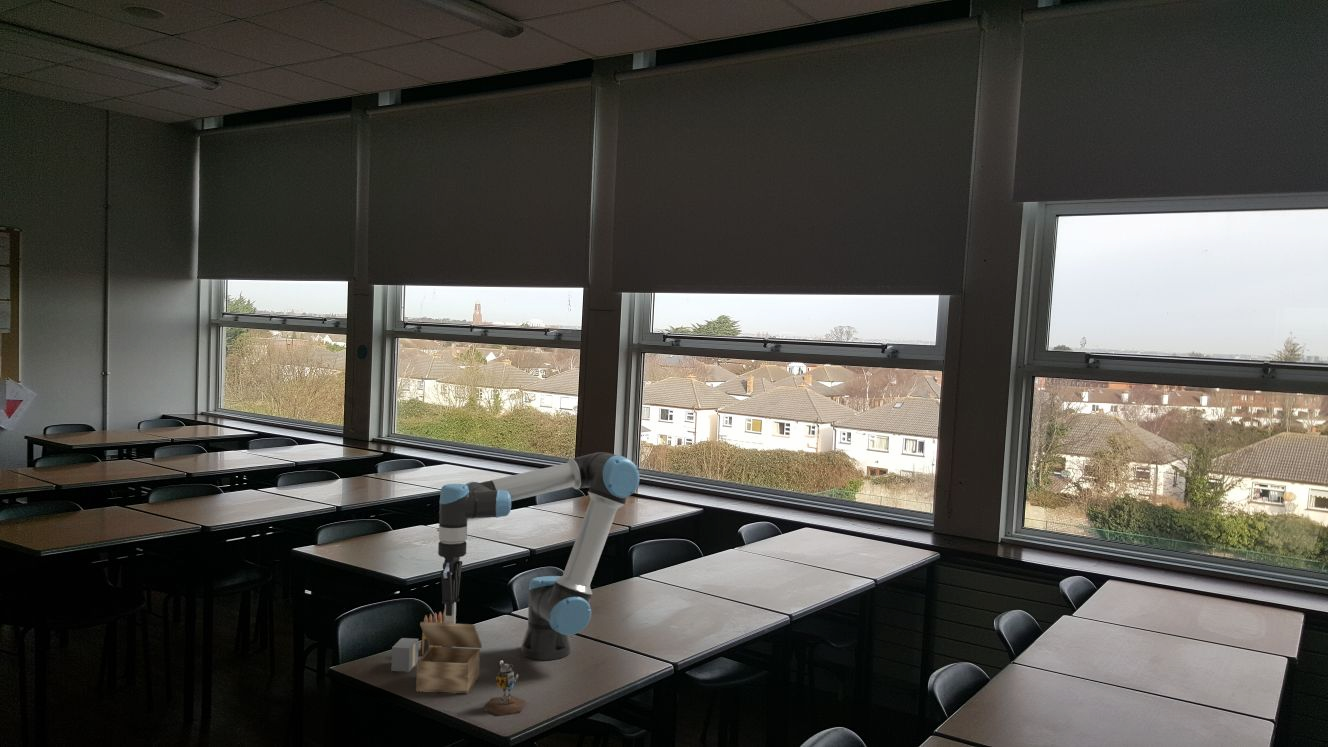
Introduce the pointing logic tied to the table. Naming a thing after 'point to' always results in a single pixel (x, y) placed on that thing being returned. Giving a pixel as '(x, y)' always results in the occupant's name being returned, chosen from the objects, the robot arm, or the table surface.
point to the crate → (447, 670)
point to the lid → (451, 634)
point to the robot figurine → (509, 702)
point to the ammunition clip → (424, 642)
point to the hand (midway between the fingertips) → (449, 626)
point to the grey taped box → (404, 654)
